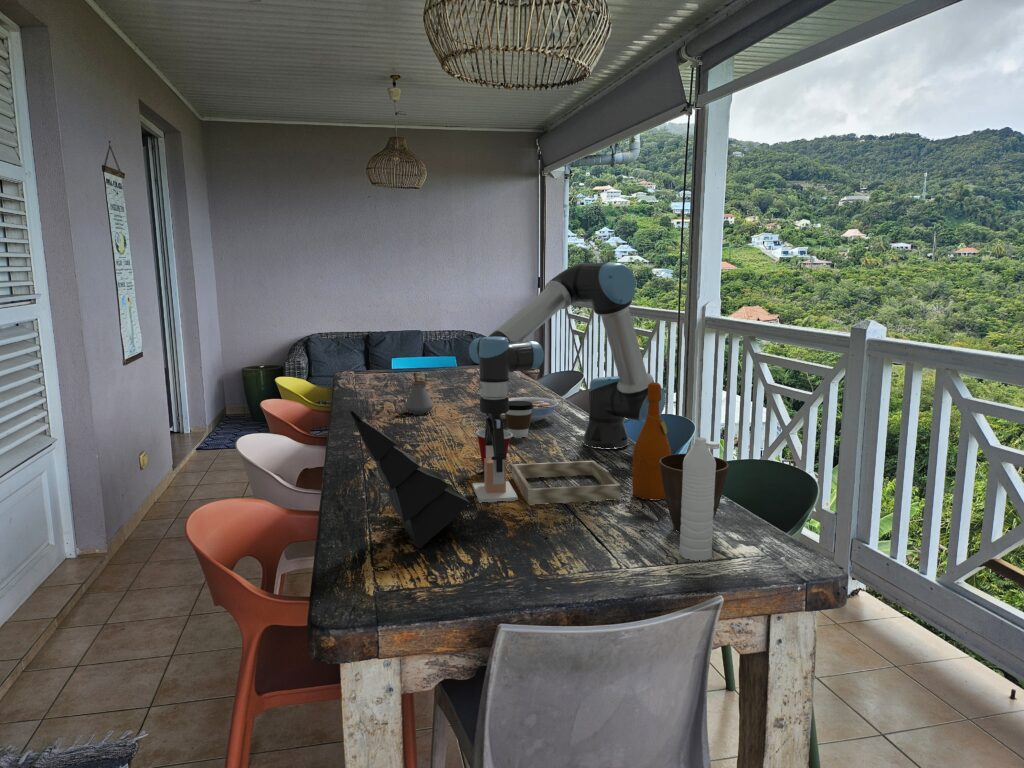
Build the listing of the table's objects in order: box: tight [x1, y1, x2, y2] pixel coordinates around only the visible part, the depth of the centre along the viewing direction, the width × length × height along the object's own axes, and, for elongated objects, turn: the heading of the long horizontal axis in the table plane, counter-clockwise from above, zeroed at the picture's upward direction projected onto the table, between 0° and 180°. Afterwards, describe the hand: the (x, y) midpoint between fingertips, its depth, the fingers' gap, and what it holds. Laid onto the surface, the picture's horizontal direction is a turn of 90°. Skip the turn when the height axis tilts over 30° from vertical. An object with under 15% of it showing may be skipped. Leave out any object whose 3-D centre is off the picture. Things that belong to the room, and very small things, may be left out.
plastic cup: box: [475, 428, 513, 471], centre depth 206 cm, size 11×11×12 cm
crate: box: [511, 460, 622, 506], centre depth 191 cm, size 24×24×4 cm
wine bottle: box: [631, 382, 672, 500], centre depth 183 cm, size 10×10×30 cm
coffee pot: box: [405, 371, 434, 415], centre depth 296 cm, size 21×12×15 cm, turn 14°
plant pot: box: [660, 453, 729, 533], centre depth 160 cm, size 15×15×16 cm
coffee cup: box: [504, 401, 534, 439], centre depth 250 cm, size 11×11×12 cm
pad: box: [472, 480, 519, 504], centre depth 187 cm, size 10×14×1 cm
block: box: [483, 458, 507, 493], centre depth 186 cm, size 5×5×8 cm
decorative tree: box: [349, 410, 471, 549], centre depth 153 cm, size 15×15×35 cm
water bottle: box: [678, 436, 720, 562], centre depth 143 cm, size 9×6×25 cm
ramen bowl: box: [508, 396, 559, 423], centre depth 277 cm, size 25×23×8 cm
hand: (494, 476), depth 186 cm, fingers open, 13 cm apart
